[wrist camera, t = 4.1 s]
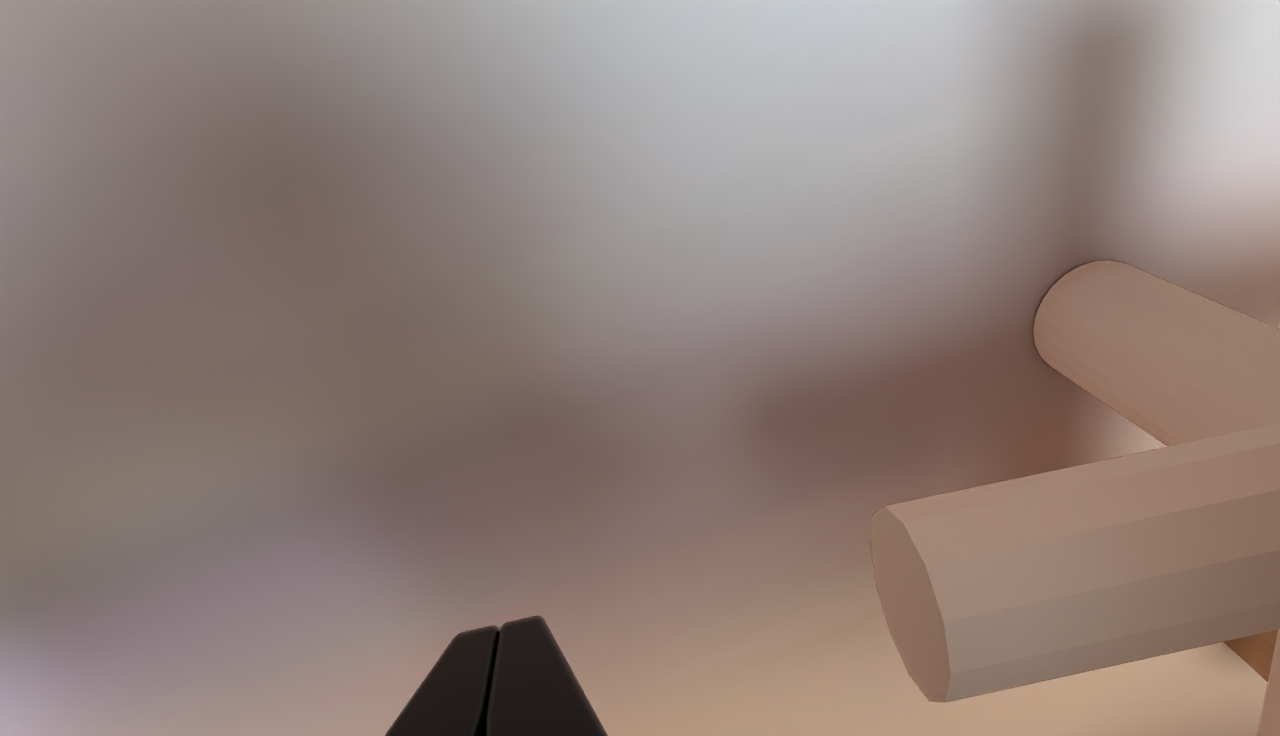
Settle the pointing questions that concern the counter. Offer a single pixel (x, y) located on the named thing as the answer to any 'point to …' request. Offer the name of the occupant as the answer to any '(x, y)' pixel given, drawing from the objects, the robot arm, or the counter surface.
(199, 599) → the counter surface
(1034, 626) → the pipe connector
